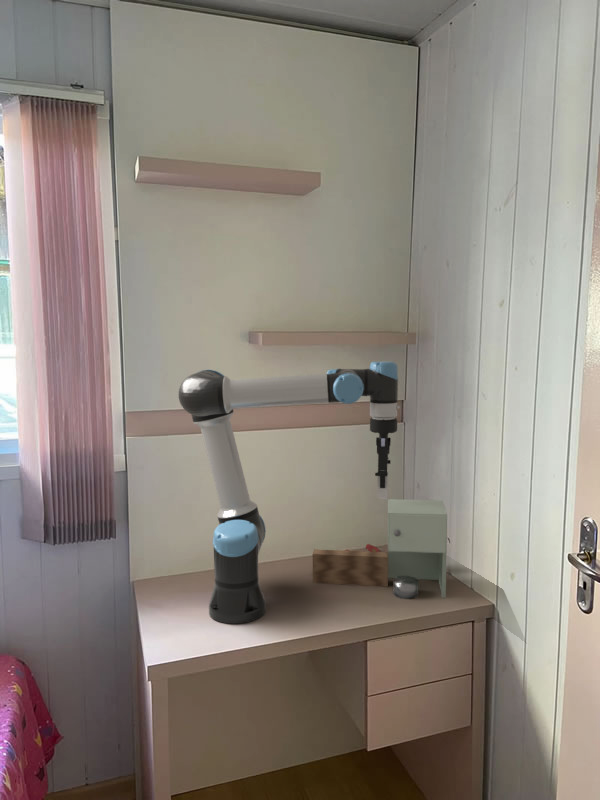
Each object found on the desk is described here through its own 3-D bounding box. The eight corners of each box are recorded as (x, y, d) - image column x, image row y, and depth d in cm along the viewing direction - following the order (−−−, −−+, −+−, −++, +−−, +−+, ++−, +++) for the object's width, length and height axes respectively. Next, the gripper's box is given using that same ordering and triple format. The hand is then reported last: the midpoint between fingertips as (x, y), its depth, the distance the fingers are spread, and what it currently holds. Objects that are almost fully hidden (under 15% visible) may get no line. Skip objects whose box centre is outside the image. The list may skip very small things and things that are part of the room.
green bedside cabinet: (387, 598, 180) (388, 514, 178) (387, 576, 196) (388, 499, 193) (446, 600, 178) (447, 516, 175) (441, 578, 194) (442, 500, 191)
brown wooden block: (312, 583, 192) (312, 554, 191) (314, 577, 196) (314, 549, 195) (387, 586, 189) (387, 557, 188) (387, 581, 193) (387, 552, 191)
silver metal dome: (393, 598, 180) (393, 585, 180) (392, 588, 187) (393, 575, 187) (418, 600, 179) (419, 586, 179) (417, 589, 186) (417, 576, 186)
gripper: (397, 424, 166) (396, 505, 168) (397, 411, 190) (396, 482, 193) (368, 424, 167) (367, 504, 169) (371, 411, 191) (371, 481, 194)
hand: (382, 492), depth 181 cm, fingers open, 13 cm apart
